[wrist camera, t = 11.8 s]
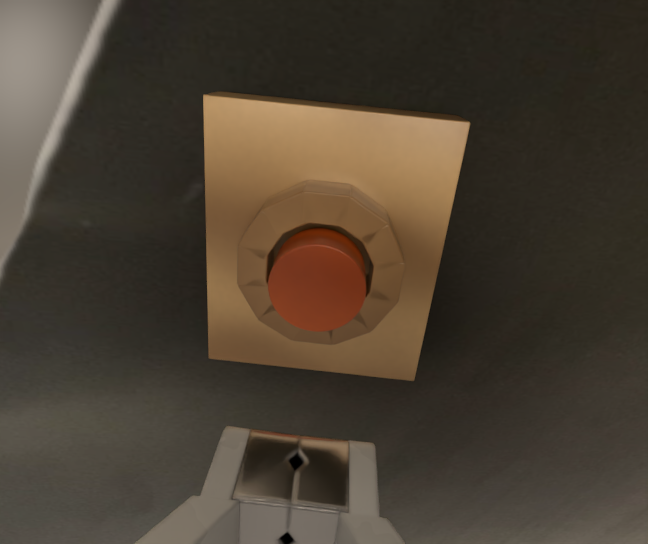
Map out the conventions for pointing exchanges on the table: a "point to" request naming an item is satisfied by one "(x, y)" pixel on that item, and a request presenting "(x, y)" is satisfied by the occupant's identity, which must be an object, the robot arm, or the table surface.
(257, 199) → the button block
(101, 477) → the table surface
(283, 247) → the red button
